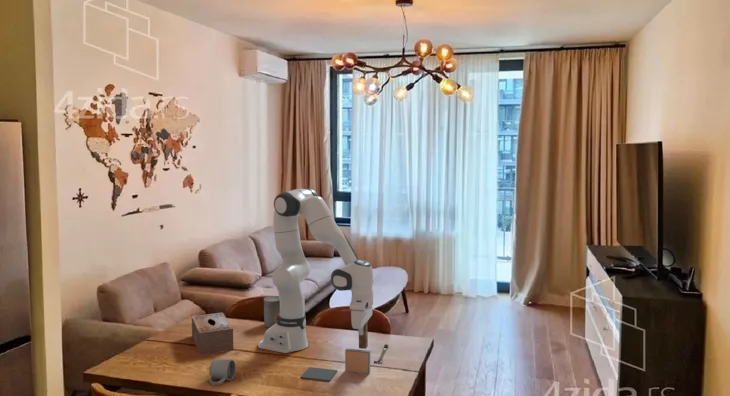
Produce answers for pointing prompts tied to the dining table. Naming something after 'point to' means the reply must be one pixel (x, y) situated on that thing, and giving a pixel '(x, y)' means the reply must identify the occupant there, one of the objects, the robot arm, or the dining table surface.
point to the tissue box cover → (212, 333)
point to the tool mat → (319, 374)
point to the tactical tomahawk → (382, 354)
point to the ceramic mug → (222, 370)
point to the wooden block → (364, 338)
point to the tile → (357, 361)
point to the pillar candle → (271, 310)
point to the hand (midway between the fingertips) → (362, 332)
